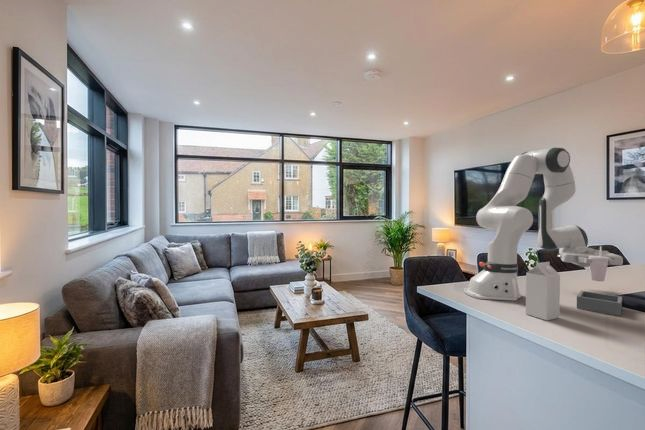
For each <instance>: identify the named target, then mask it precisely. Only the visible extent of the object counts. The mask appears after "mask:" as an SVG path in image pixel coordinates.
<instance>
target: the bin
mask: <svg viewBox="0 0 645 430" xmlns="http://www.w3.org/2000/svg"><path fill="white" fill-rule="evenodd" d="M576 309H580V310H585V311H590V312H591V311H592V312H596V313H600V314H606V315H613V316H619V317H621V315H622V310H623V296H622V295H621V296H619V295H612V294H608V293H607V294H606V293H600V292H593V291H586V290H579V292H578V294H577V296H576Z"/></svg>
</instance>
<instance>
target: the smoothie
mask: <svg viewBox="0 0 645 430" xmlns="http://www.w3.org/2000/svg"><path fill="white" fill-rule="evenodd" d="M602 247H603V246H601V245H600V246H599V250H600V256H589V259H591V261H590V262H591V263H590V266H589V267H590V274H591V280H592V281H595V282H605V278H606V274H607V270H608V269H607V268H608V266H609V265H608V260H609V257H604V256H601V252H602V250H603V249H602Z"/></svg>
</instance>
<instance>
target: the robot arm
mask: <svg viewBox="0 0 645 430" xmlns="http://www.w3.org/2000/svg"><path fill="white" fill-rule="evenodd" d="M570 155H571V154H570V153H569V152H568V151H567V150H566V148H562V147H552V148H542V149H541V148H540V149H535V150H531V151H525V152H522V153H520V154H518V155H516V156H515V157H514V158H512V160H511V162H510V164H509V166H508V167H507V169H506V171H505V174H504V176H503V179H502V181H501V184H500V186H499V187H498V189H497V191H496V193H495V194H494V196H493V197H492V198H491V199H490V201H489V202H488V203H487V204H486V205H485V206H483V207H482V208H480V209H479V210H478V211H477V213H476V216H475V218H476V219H475V220H476V223H477V225H478V226H479V227H481V228H484V229H486V230H489V231H496V234H495V236H494V238H493V240H491V241H489V242H488V244H487V261H486V262H483V261H479V266H480V267H481V268H483V269H482V270H481V271H480V272H478V273H477V274H475V275H474V276H472V277H470V279H469V284H468V287H464V288H463V291H462V292H463V293H464V294H466V295H468V296H470V297H472V298H474V299H479V300H497V301H498V300H500V301H518V299H520V298H521V297H522V295H521V292H520V289H519V282H518V273H519V265H518V246H519V243H520V240H521V238H522V237H523V235H524V233H525V232H527V231H528V230H529V229H530V228H531V227H532V225H533V222H534V215H533V214H532V211H531V210H529V209H528V208H526V207H522V206H517V205H518V204H519V203H521V202H523V201H524V200H525V199H526V198H527V197H528V195H529V192H530V190H531V186H532V184H533V182H534V178H535V176H536V175H543V183H544V193H543V195H542V197H540V199H539V201H538V211H537V213H538V214H537V218H538V219H537V223H538V225H537V226H538V227H537V236H536V240H537V241H536V242H537V244H538V247H540V249H543V250H545V251H548V252H551V251H555V250H558V249H559V250H558V254H557V255H556V257H558V258H560V260H561V261H562V262H564V263H571V264H573V265H576V266H579V267H582V268H589V267H590V263H591V262H590V261H591V259H589V256H600V249H596V248H591V247H588V244H589V240H588V239H589V237H588V235H587V233H586V231H585V230H584V229H582V227H580V226H579V225H576V224H572V225H564V226H561V227H555V228H551V215H552V212H553V211H554V210H555V209H556V208H557V207H559V206H561V205H562V204H564V203H566V202H568V201H569V200H570V199H572V198H573V197H574V196H575V194H576V189H577V188H576V181H575V177H574V174H573V170H572V168H571V166H570V163H571V156H570ZM601 256H604V257H609V260H608V265H607V266H623V263H624V258H623V256H621V255H619V254H615V253H611V252H609V250H605V249H602V252H601Z"/></svg>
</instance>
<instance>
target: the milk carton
mask: <svg viewBox="0 0 645 430" xmlns="http://www.w3.org/2000/svg"><path fill="white" fill-rule="evenodd" d="M525 276H526V277H525V315H528V316H531V317H535V318H538V319H540V320H544V321H550V320H554V319H559V318H560V299H561V297H560V295H561V293H560V290H561V275H560V273H559V272H558V271H557V270H556V269H554V268H553V266H552V265H550V261H546V262H537V263H535V266H534V267H533V268H532V269H530V270H528V271H527V272H526V275H525Z"/></svg>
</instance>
